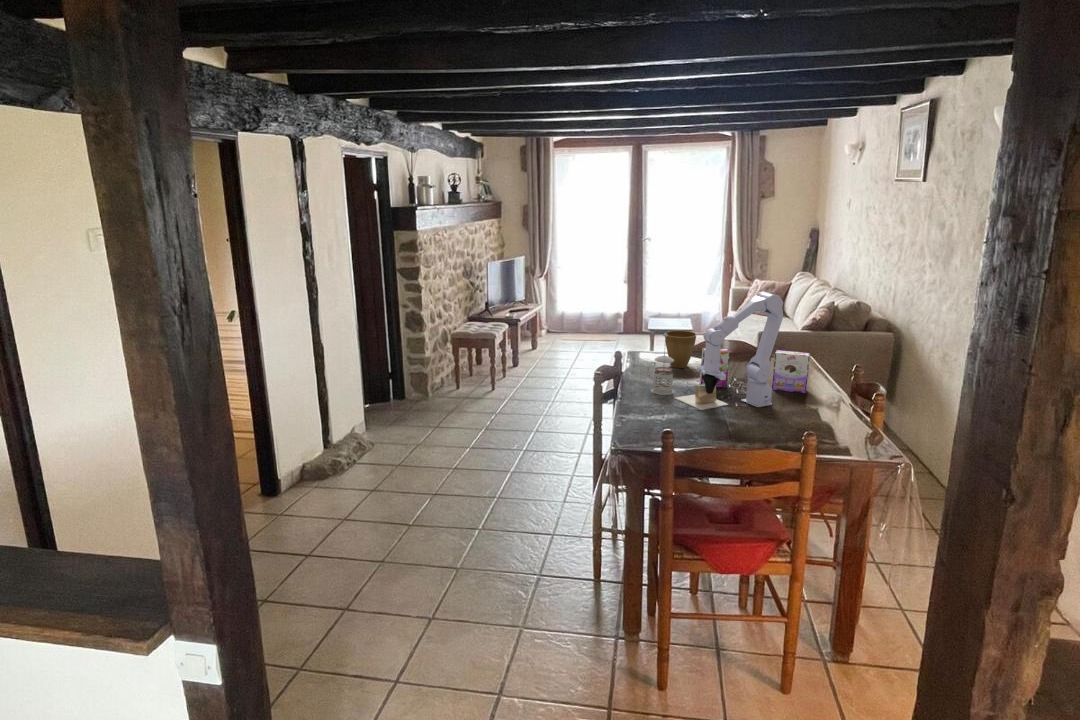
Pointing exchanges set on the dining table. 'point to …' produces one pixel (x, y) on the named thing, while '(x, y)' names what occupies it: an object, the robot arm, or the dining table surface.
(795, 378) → the candy box
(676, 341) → the plant pot
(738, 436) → the dining table surface
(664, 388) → the french press
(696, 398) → the slab
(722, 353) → the candy bar box
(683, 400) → the mat
